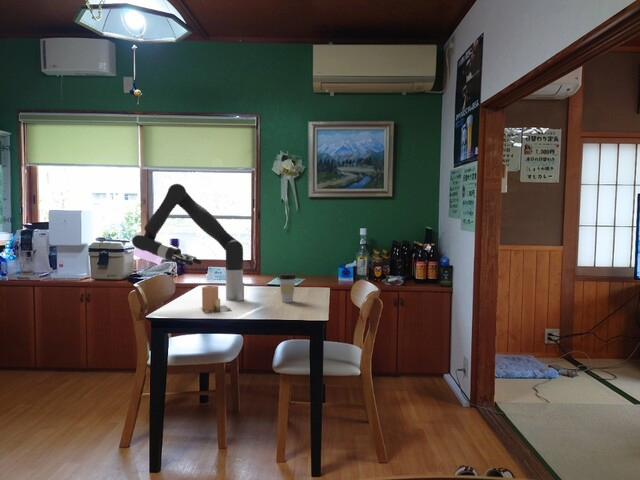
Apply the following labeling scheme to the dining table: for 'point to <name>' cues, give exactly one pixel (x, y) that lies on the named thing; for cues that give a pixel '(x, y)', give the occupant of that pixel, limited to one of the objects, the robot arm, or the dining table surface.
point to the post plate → (222, 309)
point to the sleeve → (209, 297)
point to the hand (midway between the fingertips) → (196, 263)
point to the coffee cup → (287, 287)
